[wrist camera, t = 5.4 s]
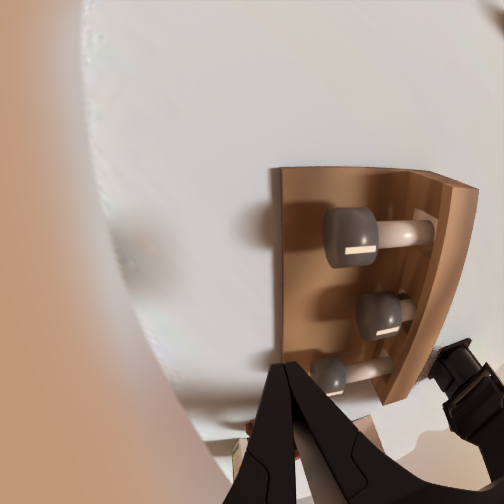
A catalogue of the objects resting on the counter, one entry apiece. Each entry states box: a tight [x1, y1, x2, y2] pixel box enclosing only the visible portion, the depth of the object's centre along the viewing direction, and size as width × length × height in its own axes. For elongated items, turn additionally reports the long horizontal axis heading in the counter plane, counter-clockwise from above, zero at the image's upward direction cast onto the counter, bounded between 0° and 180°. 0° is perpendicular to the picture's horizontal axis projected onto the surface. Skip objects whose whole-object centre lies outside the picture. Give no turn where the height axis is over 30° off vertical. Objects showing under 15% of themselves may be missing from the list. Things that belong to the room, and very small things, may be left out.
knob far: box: [310, 356, 393, 397], centre depth 23 cm, size 8×4×4 cm, turn 93°
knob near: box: [323, 207, 435, 269], centre depth 17 cm, size 8×4×4 cm, turn 93°
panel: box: [280, 166, 479, 406], centre depth 20 cm, size 13×22×6 cm, turn 3°
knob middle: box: [356, 291, 417, 341], centre depth 20 cm, size 8×4×4 cm, turn 93°
